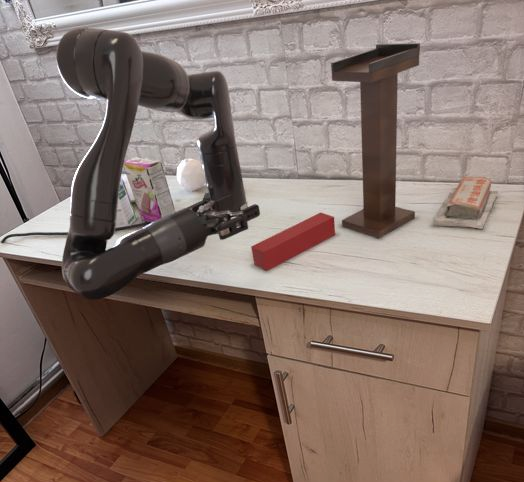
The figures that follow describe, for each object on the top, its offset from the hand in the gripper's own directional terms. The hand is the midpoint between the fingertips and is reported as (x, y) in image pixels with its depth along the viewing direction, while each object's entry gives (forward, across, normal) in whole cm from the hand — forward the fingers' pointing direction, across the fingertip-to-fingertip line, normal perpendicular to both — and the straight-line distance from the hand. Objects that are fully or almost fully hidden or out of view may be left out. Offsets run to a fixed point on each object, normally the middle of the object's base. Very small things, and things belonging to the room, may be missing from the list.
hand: (245, 204), depth 92 cm
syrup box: (-7, +52, +15) cm, 55 cm away
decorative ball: (+18, +56, +15) cm, 61 cm away
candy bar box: (0, +44, +15) cm, 46 cm away
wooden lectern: (+31, -6, +14) cm, 34 cm away
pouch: (-3, +69, +15) cm, 71 cm away
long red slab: (+11, 0, +14) cm, 18 cm away
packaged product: (+46, -19, +15) cm, 52 cm away
